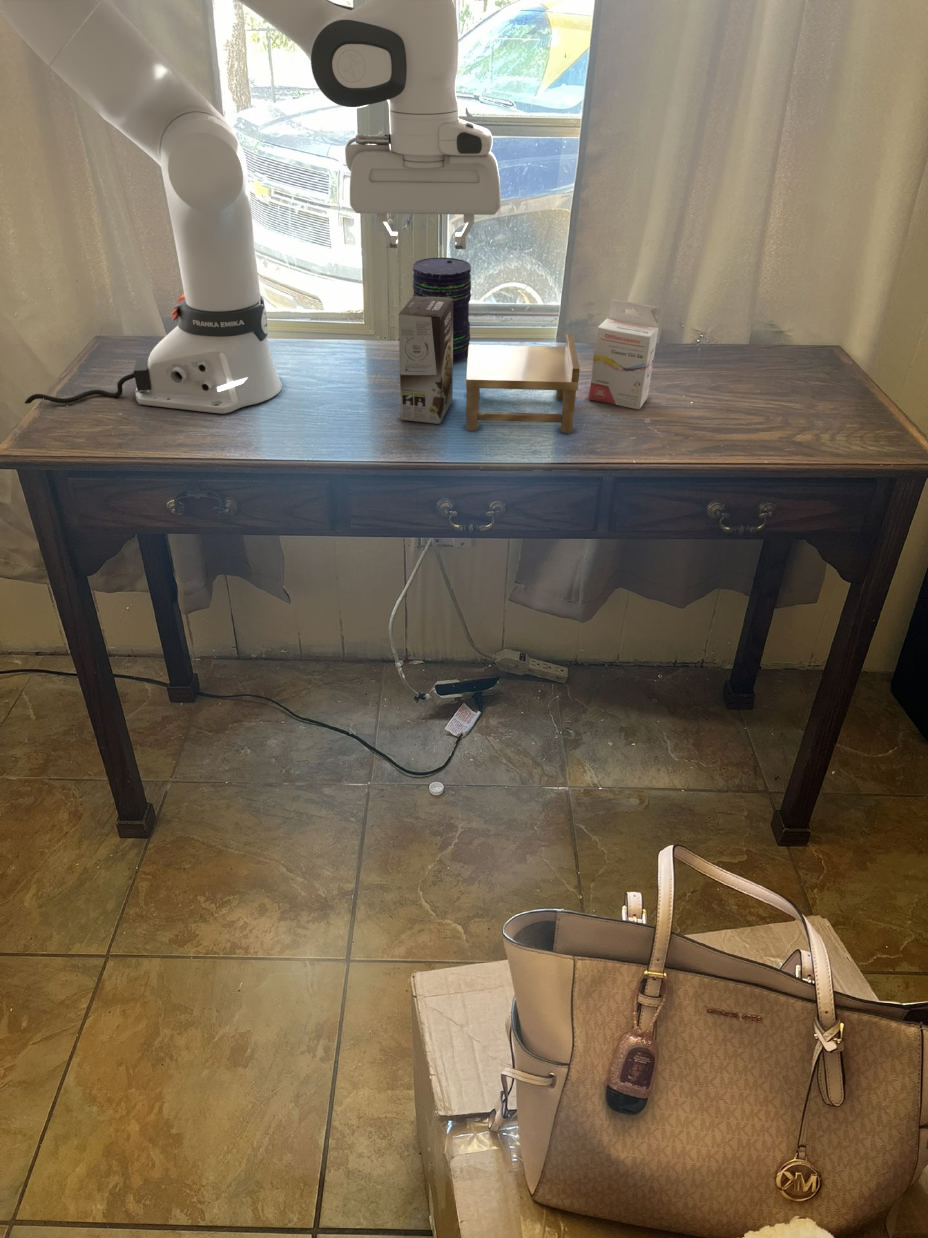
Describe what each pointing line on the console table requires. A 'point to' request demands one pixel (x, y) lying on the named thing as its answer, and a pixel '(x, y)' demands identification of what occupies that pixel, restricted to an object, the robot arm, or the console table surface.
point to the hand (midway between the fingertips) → (426, 247)
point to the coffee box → (426, 358)
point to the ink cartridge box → (624, 355)
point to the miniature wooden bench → (522, 379)
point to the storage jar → (448, 294)
